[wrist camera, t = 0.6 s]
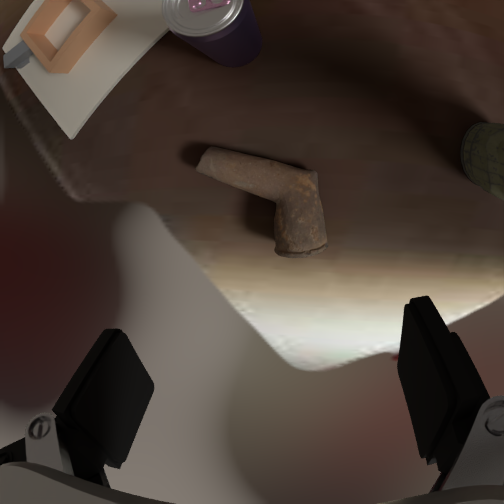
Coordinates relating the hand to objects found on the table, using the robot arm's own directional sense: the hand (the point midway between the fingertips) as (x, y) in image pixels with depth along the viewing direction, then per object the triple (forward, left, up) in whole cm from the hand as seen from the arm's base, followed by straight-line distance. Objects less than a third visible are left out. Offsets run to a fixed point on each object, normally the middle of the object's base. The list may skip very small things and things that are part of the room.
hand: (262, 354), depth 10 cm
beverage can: (-6, -15, -28) cm, 32 cm away
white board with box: (+6, -34, -28) cm, 44 cm away
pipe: (+3, +1, -28) cm, 28 cm away
